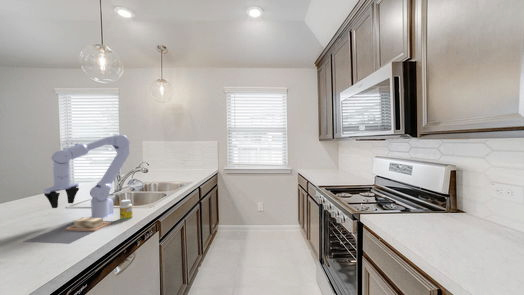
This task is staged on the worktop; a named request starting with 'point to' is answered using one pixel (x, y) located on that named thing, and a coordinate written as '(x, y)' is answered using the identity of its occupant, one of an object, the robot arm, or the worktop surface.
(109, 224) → the terracotta frame
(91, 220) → the cream long block
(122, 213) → the supplement bottle
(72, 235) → the rubber mat
